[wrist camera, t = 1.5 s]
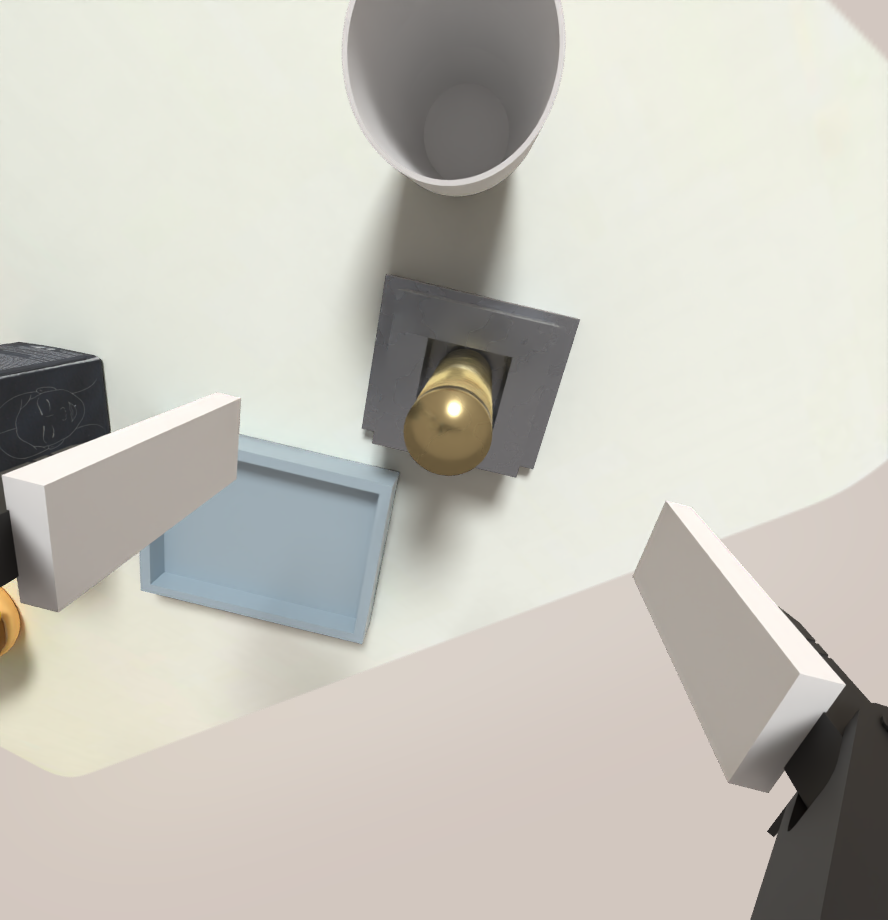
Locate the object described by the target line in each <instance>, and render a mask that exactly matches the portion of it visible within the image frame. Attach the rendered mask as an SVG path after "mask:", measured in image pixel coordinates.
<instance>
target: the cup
mask: <svg viewBox="0 0 888 920" xmlns="http://www.w3.org/2000/svg"><path fill="white" fill-rule="evenodd" d="M564 59H565V22H564V14H563V8H562V4H561V0H350V1H349V5H348V8H347V12H346V17H345V22H344V29H343V38H342V66H343V75H344V82H345V87H346V91H347V95H348V99H349V102H350V105H351V108H352V111H353V113H354V116H355V118H356V120H357V122H358V124H359V126H360V128H361V130H362V132H363V133H364V135H365V137H366V138H367V140H368V141H369V143H370V144H371V145H372V146H373V148H374V149H375V150H376V151H377V152H378V154H379V155H380V156H381V157H382V158H383V159H384V160H386V161H387V162H388V163H389V164H390V165H391V166H393V167H394V168H395V169H397V170H398V171H400V172H401V173H402V174H404V175H405V176H406V177H408V178H409V179H411V180H412V181H413V182H415V183H416V184H418V185H419V186H421V187H423V188H425V189H427V190H429V191H431V192H434V193H437V194H441V195H447V196H467V195H473V194H477V193H480V192H483V191H485V190H488V189H490V188H492V187H494V186H495V185H497V184H499V183H500V182H502V181H503V180H504V179H505V178H507V177H508V176H509V175H510V174H511V173H512V172H513V171H514V170H515V169H516V168H517V167H518V166H519V165H520V164H521V162H522V161H523V160H524V158H525V157H526V155H527V154H528V152H529V151H530V149H531V147H532V145H533V143H534V142H535V140H536V138H537V136H538V134H539V132H540V130H541V128H542V127H543V125H544V123H545V121H546V119H547V117H548V115H549V113H550V111H551V109H552V106H553V104H554V101H555V98H556V96H557V93H558V89H559V86H560V82H561V77H562V72H563V67H564Z"/></svg>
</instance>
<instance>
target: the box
mask: <svg viewBox="0 0 888 920" xmlns="http://www.w3.org/2000/svg"><path fill="white" fill-rule="evenodd" d="M107 434H110V429H109V420H108V411H107V405H106V396H105V388H104V379H103V371H102V363H101V359H100V358H98V357H96V356H95V355H90V354H85V353H81V352H76V351H71V350H65V349H61V348H55V347H49V346H44V345H37V344H29V343H23V342H17V343H11V344H2V345H0V472H3V471H5V470H8V469H11V468H13V467H16V466H18V465H21V464H24V463H26V462H33V460H34V459H37V458H40V457H42V456H45V455H48V456H50V453H53V452H55V451H58V450H61V449H63V448H66V447H68V446H71V445H76V444H82V443H86V442H89V441H91V440H94V439H97V438H99V437H102V436H104V435H107Z"/></svg>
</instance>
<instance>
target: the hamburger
mask: <svg viewBox="0 0 888 920" xmlns="http://www.w3.org/2000/svg"><path fill="white" fill-rule="evenodd" d="M19 630H20V618H19V614H18V611H17V609H16V607H15V604H14V603H13V601H12V599H11V598H10V596H9V595H8V594H7V593H6V592H5V591H4V589H3V588H1V587H0V656H2V655H3V654H5V653H6V652H8V651H9V649H10V648H11V647H12V646H13V645H14V643H15V641H16V639H17V637H18V635H19Z"/></svg>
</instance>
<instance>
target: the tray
mask: <svg viewBox="0 0 888 920" xmlns="http://www.w3.org/2000/svg"><path fill="white" fill-rule="evenodd" d="M398 477H399V472H396V471H392V470H388V469H383V468H379V467H375V466H371V465H367V464H362V463H358V462H354V461H350V460H346V459H341V458H337V457H333V456H329V455H325V454H320V453H316V452H312V451H308V450H304V449H299V448H295V447H291V446H287V445H283V444H278V443H274V442H270V441H266V440H262V439H258V438H253V437H249V436H245V435H241V434H239V443H238V461H237V478H236V480H234V481H233V482H232V483H230V484H229V485H228V486H226V487H225V488H224V489H222V490H221V491H220V492H218V493H217V494H216V495H214V496H213V497H212V498H210V499H209V500H208V501H206V502H205V503H204V504H202V505H201V506H200V507H198V508H197V509H196V510H194V511H193V512H192V513H190V514H189V515H188V516H186V517H185V518H184V519H182V520H181V521H180V522H178V523H177V524H176V525H174V526H173V527H172V528H170V529H169V530H168V531H166V532H165V533H164V534H162V535H161V536H160V537H158V538H157V539H156V540H154V541H153V542H152V543H150V544H149V545H148V546H146V547H145V548H144V549H142V550H141V551H140V580H141V591H146V592H150V593H154V594H158V595H162V596H166V597H170V598H174V599H179V600H183V601H187V602H191V603H195V604H199V605H203V606H207V607H211V608H216V609H220V610H224V611H228V612H232V613H236V614H240V615H244V616H249V617H253V618H257V619H261V620H265V621H269V622H273V623H277V624H282V625H286V626H290V627H294V628H298V629H302V630H306V631H310V632H314V633H319V634H323V635H327V636H331V637H335V638H339V639H343V640H347V641H352V642H356V643H360V644H362V643H363V640H364V638H365V635H366V632H367V629H368V626H369V624H370V619H371V614H372V609H373V604H374V599H375V594H376V589H377V584H378V579H379V574H380V568H381V563H382V558H383V553H384V548H385V543H386V538H387V533H388V528H389V523H390V518H391V513H392V508H393V502H394V497H395V492H396V487H397V482H398Z"/></svg>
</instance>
